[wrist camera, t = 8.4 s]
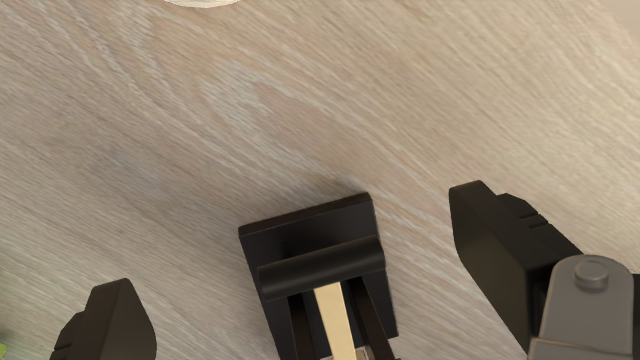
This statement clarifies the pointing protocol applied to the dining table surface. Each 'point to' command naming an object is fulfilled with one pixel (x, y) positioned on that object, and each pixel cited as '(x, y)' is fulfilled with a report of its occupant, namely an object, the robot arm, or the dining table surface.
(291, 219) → the bracket
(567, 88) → the dining table surface
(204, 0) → the mug
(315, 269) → the lever
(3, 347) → the kettle
